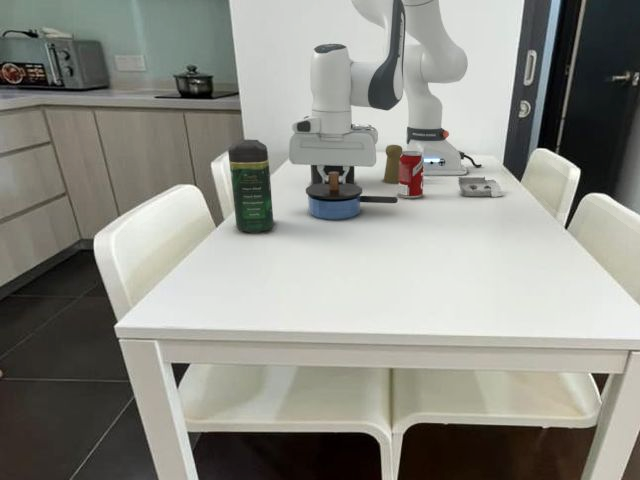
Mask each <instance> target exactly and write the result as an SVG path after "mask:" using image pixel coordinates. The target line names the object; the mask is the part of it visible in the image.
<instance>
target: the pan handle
mask: <svg viewBox="0 0 640 480" xmlns="http://www.w3.org/2000/svg"><path fill="white" fill-rule="evenodd" d="M398 201H399V199H398V197H396V196H387V195H385V196H382V195H381V196H380V195H360V203H367V204H368V203H369V204H371V203H372V204H397V203H398Z"/></svg>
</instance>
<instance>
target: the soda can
mask: <svg viewBox="0 0 640 480" xmlns="http://www.w3.org/2000/svg"><path fill="white" fill-rule="evenodd" d="M424 176H425V175H424V158H423V156H422V152H419V151H406V150H403V151H402V155H401V157H400V159H399V183H398V193H397V194H398V195H399V196H400V197H402V198H403V199H411V200H412V199H413V200H414V199H419V198H420V197H422V196H423V194H424V193H423V192H424Z"/></svg>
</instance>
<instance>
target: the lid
mask: <svg viewBox="0 0 640 480" xmlns="http://www.w3.org/2000/svg"><path fill="white" fill-rule="evenodd" d="M338 177H339V172H329V184H323V183H320V184H314V185H312V184H311V185H309V186H307V187H306V188H305V194H306V195H307V196H308V195H309V196H311V197H315V198H320V199H330V200H338V199H347V198H353V197H356V196H359V195H360V196H362V195H363V190H364V189H363V187H361V186H359V185H357V184H355V183H354V184H349V183H345V185H339V180H338Z"/></svg>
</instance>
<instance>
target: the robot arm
mask: <svg viewBox="0 0 640 480" xmlns="http://www.w3.org/2000/svg"><path fill="white" fill-rule="evenodd" d="M351 3H352V6H353V8H354V9H355V10H356V12H357V13H358V14H359V15H360V16H361V17H362V18H363V19H365V20H366V21H367V22H370V23H372V24H374V25H377V26H379V27H380V28H382V29H384V36H383V47H382V49H383V50H382V57H381V59H379V60H378V61H376V62H364V61H363V62H362V61H354V60H353V59H351V58H350V54H349V50H348V47H347V46H346V45H344V44H341V43H327V44H326V43H325V44H320V45H317V46H316V47H314V48H313V49H312V52H311V58H310V73H309V74H310V90H311V93H312V105H311V115H310V116H309V115H307V116H304V117H302V118H299V119H296V120H295V121H293V122H292V123H291V130H292V132H293V133H292V134H291V135H290V137H289V141H288V160H289V163H291V164H292V165H297V166H298V165H299V166H300V165H301V166H302V165H303V166H311V165H317V170H318V172H319V173H320V175H321V176H322V180H323V184H329V176H328V175H326V174H325V172H324V171H323V169H324V165H330V166H343V170H344V171H345V170H346V171H345V172H344V174H343V176H339V177H338V180H339V185H345V177H346V175H347V173H348V172H349V170H350V166H354V167H368V168H372V167H374V166H375V165H376V163H377V150H376V148H377V147H376V144H378V141H379V132H378V130H377V129H376V128H375V127H374V126H372V125H371V124H356V123H353V121H352V119H353V117H352V116H353V115H352V106H353V107H360V108H372V109H375V110H381V111H386V112H387V111H391V109H393V108H394V107H396V106H397V105H398V104H399V103H400V102H401V100H402V98H403V95H404V92H405V96H406V98H407V105H408V106H407V107H408V122H407V123H408V126H407V127H406V133H405V143H406V150H405V151H419V152H422V156H423V158H424V176H464V175H466V174H467V173H468V168H467V167H466V166H465V165H463V164H462V161H463V160H465V159H467V160H469V161H470V162H471V165H473V167H475V168H482V167H483V165H482V163H480V164H476V163H475V161H474V159H473V158H472V157H471V156H469V155H467V154H465V152H464V151H461V150H458V149H457V148H456V147H454V145H452V144H451V143H450V142H449V141H448V140H447V138H448V137H449V136H450V132H449V131H448V130H446V129H445V128H443V127H442V120H443V104H442V101H441V99H439V98H438V97H437V96H435V94H433V93H432V92H431V90H430V88H429V84H444V85H445V84H453V83H456V82H460V81H461V80H462V79H463V78H464V77H465V75H466V74H467V70H468V66H469V65H468V63H469V62H468V56H467V54H466V52H465V50H464V49H463V48H462V47H461V46H458V44H457V43H456V42H454V40H453V39H452V38H451V36H450V35H449V33H448V32H447V30H446V28H445V26H444V22H443V19H442V13H441V8H440V1H439V0H351ZM406 33H407V34H408V35H409V36H410V37H411V38H412V39H414V40H416V41H417V42H418V43H419V44H413V43H412V44H411V43H410V44H405V43H406Z"/></svg>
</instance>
